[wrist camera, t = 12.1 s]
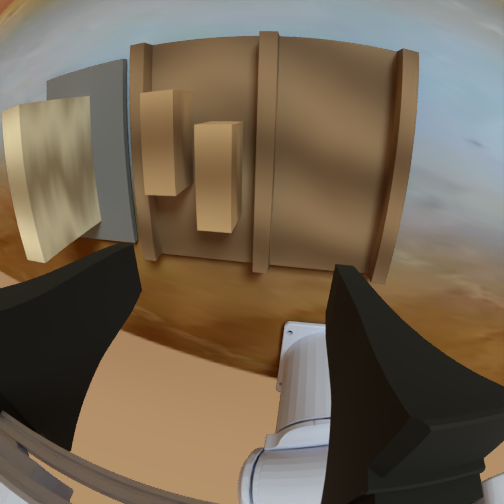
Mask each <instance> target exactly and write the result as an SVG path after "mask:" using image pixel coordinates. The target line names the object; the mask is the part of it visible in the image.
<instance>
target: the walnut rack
mask: <svg viewBox="0 0 504 504" xmlns="http://www.w3.org/2000/svg"><path fill="white" fill-rule="evenodd" d="M418 79H419V53H418V52H415V51H411V50H407V49H401V50H399V51H397V52H396V51H392V50H387V49H382V48H377V47H372V46H367V45H361V44H355V43H348V42H341V41H333V40H324V39H314V38H301V37H282V36H279V33H278V32H272V31H260V32H259V36H238V37H218V38H205V39H195V40H186V41H178V42H171V43H164V44H158V45H150V44H147V43H140V44H135V45H131V46H130V131H131V150H132V165H133V177H134V188H135V198H136V207H137V215H138V223H139V231H140V238H141V245H142V252H143V258H144V260H151V261H156V260H157V259H158V258H159V257H160V256H161V254H162V253H164V254H173V255H182V256H191V257H201V258H210V259H220V260H229V261H239V262H249V263H253V270H252V272H257V273H267V274H268V269H269V265H279V266H289V267H299V268H309V269H320V270H330V271H334V269H335V264H341V265H352V266H354V267H355V268H356V269H357V270H358V272H359V273H363V274H368V275H369V278H370V282H371V283H373V284H385V282H386V278H387V274H388V271H389V267H390V263H391V259H392V256H393V252H394V248H395V243H396V239H397V235H398V230H399V226H400V221H401V216H402V212H403V207H404V201H405V196H406V190H407V185H408V179H409V172H410V166H411V159H412V151H413V143H414V134H415V124H416V113H417V99H418ZM172 89H174V90H186V91H192V142H193V182H194V183H192V184H191V185H190V186H188V187H187V188H186V189H184V190H183V191H182V192H180V193H179V194H178V195H177V196H160V195H145V189H144V177H143V163H142V146H141V122H140V93H145V92H153V91H162V90H172ZM210 121H235V122H243V151H242V214H241V216H240V218H239V220H238V222H237V224H236V225H235V227H234V229H233V231H232V233H224V232H212V231H200V230H197V213H196V188H195V151H194V125H195V124H200V123H205V122H210Z"/></svg>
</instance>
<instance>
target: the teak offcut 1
mask: <svg viewBox="0 0 504 504" xmlns="http://www.w3.org/2000/svg"><path fill="white" fill-rule="evenodd" d="M140 122H141V146H142V163H143V177H144V189H145V195H160V196H177V195H178V194H179V193H180V192H182V191H183V190H184V189H186V188H187V187H188V186H190V185H191V184H192V183H194V182H193V142H192V91H186V90H174V89H172V90H162V91H153V92H145V93H140Z"/></svg>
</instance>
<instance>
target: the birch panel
mask: <svg viewBox="0 0 504 504" xmlns="http://www.w3.org/2000/svg"><path fill="white" fill-rule="evenodd" d="M2 123H3V137H4V148H5V156H6V164H7V171H8V178H9V184H10V190H11V195H12V200H13V205H14V210H15V214H16V218H17V223H18V227H19V231H20V235H21V238H22V242H23V245H24V249H25V252H26V256H27V259H28V260H32V261H37V262H42V263H46V262H47V261H48V260H50V259H51V258H52V257H53V256H55V255H56V254H57V253H58V252H60V251H61V250H62V249H64V248H65V247H66V246H68V245H69V244H70V243H72V242H73V241H74V240H76V239H77V238H78V237H80V236H81V235H82V234H84V233H85V232H87V231H88V230H89V229H91V228H92V227H94V226H95V225H96V224H98V223H99V222H101V215H100V209H99V202H98V195H97V188H96V180H95V171H94V162H93V151H92V138H91V120H90V96H84V97H73V98H63V99H55V100H47V101H40V102H33V103H27V104H21V105H18V106H15V107H13V108H10V109H8V110H5V111H3V112H2Z"/></svg>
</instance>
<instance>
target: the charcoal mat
mask: <svg viewBox="0 0 504 504" xmlns="http://www.w3.org/2000/svg"><path fill="white" fill-rule="evenodd" d="M126 73H127V59H120V60H115V61H111V62H107V63H103V64H99V65H95V66H92V67H88V68H85V69H81V70H78V71H75V72H71V73H68V74H65V75H62V76H59V77H56V78H53V79H51V80H48V81H47V100H55V99H63V98H73V97H84V96H90V120H91V138H92V151H93V162H94V171H95V180H96V188H97V195H98V202H99V209H100V215H101V222H99V223H98V224H96V225H95V226H94V227H92V228H91V229H89V230H88V231H87V232H85V233H84V234H82V235H81V236H80V237H83V238H92V239H102V240H112V241H122V242H132V243H135V242H136V241H138V237H137V230H136V222H135V215H134V206H133V197H132V188H131V177H130V165H129V151H128V133H127V102H126Z"/></svg>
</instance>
